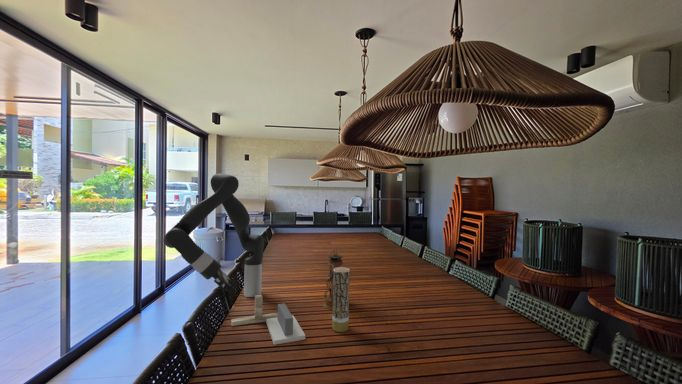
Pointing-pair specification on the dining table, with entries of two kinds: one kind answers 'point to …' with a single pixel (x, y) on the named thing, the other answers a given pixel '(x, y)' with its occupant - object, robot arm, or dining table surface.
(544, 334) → the dining table surface
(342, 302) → the bark print canister
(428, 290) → the dining table surface
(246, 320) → the birch T-bar
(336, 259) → the lantern
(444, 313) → the dining table surface
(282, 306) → the ridge stand
